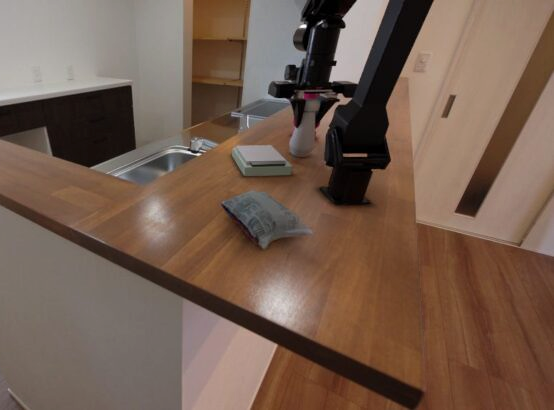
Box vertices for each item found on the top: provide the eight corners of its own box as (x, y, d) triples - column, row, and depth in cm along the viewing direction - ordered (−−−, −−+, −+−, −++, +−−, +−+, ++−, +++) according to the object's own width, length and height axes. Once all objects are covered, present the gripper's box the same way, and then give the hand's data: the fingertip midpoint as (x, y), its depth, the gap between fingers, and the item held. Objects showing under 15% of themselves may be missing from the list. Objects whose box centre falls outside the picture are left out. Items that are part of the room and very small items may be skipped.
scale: (290, 175, 63) (293, 163, 62) (244, 176, 62) (245, 164, 61) (272, 154, 73) (273, 144, 72) (231, 155, 73) (232, 145, 71)
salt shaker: (307, 160, 70) (320, 103, 64) (283, 154, 73) (293, 99, 67) (315, 153, 74) (328, 99, 68) (292, 148, 77) (303, 96, 71)
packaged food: (264, 205, 52) (268, 179, 49) (311, 245, 42) (319, 215, 40) (218, 215, 49) (219, 188, 46) (257, 260, 39) (262, 229, 37)
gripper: (342, 52, 71) (326, 119, 79) (265, 51, 69) (256, 119, 77) (371, 55, 61) (350, 131, 69) (282, 54, 60) (270, 132, 67)
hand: (305, 128), depth 71 cm, fingers open, 3 cm apart
